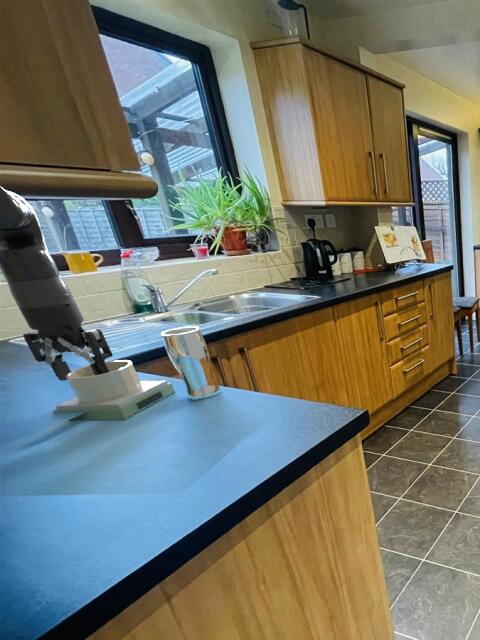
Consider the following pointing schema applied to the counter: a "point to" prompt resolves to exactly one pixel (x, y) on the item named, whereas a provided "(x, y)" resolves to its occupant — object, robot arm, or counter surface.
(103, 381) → the bowl
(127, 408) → the scale
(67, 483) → the counter surface
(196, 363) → the beer glass
